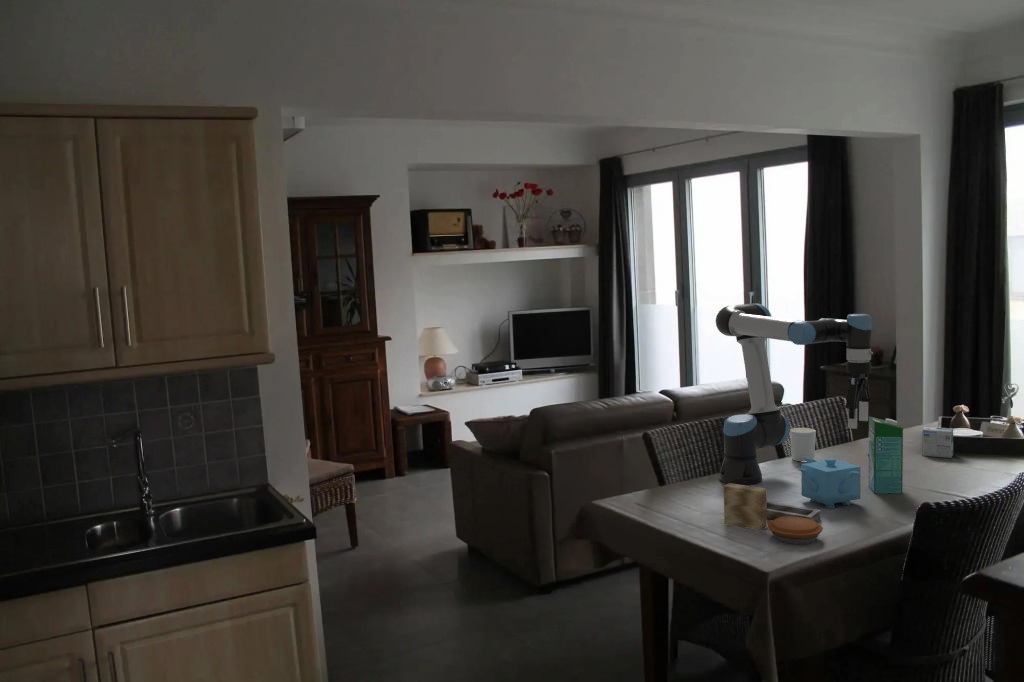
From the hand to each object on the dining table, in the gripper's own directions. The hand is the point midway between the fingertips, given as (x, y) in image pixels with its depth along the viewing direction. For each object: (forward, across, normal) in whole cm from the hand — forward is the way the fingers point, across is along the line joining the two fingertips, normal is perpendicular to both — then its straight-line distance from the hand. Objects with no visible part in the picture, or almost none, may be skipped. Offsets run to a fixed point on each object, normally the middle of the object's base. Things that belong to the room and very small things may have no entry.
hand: (858, 424), depth 280 cm
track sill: (+25, -32, +14) cm, 43 cm away
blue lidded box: (+25, -10, +7) cm, 28 cm away
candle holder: (+26, +44, +32) cm, 60 cm away
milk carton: (+25, +15, -5) cm, 30 cm away
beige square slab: (+25, -45, +21) cm, 56 cm away
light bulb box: (+26, +76, -11) cm, 80 cm away
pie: (+25, -49, +5) cm, 55 cm away
